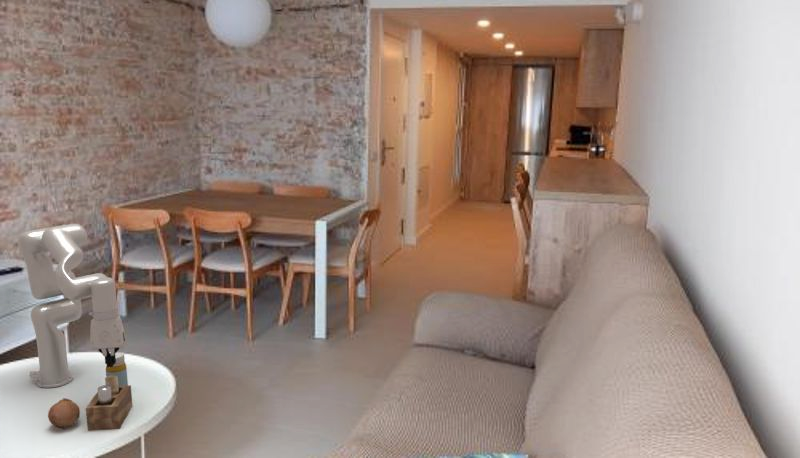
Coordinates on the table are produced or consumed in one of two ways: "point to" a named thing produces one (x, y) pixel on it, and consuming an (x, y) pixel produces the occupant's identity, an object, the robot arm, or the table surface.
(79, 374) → the table surface
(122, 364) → the bottle
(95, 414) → the socket block
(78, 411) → the onion
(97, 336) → the robot arm
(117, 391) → the peg birch
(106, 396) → the peg metal
